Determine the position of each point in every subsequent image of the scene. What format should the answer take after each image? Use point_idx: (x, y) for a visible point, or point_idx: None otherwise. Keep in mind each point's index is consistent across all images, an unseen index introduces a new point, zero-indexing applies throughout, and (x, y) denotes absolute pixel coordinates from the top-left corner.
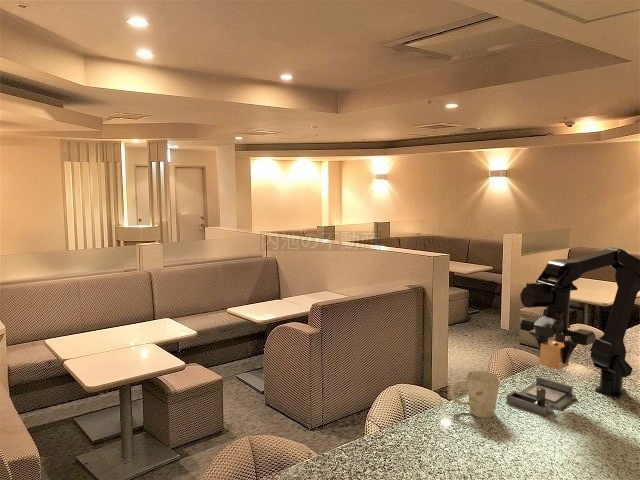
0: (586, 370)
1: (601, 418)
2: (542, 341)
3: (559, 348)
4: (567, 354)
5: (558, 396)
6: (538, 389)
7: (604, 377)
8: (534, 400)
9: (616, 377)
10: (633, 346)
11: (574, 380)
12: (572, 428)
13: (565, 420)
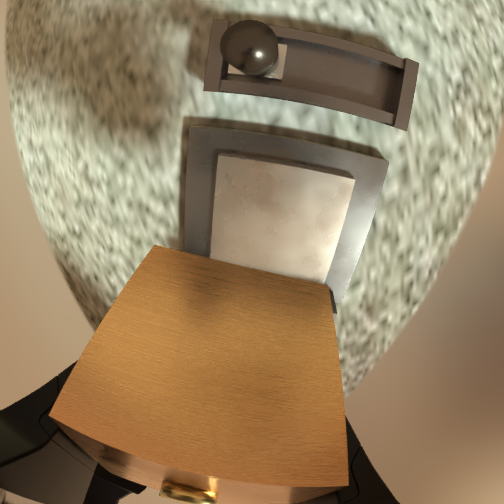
0: None
1: (78, 163)
2: (329, 500)
3: (58, 417)
4: (61, 372)
5: (223, 219)
6: (263, 33)
7: None
8: (296, 90)
9: None
10: None
11: None
12: (119, 13)
13: (151, 49)
